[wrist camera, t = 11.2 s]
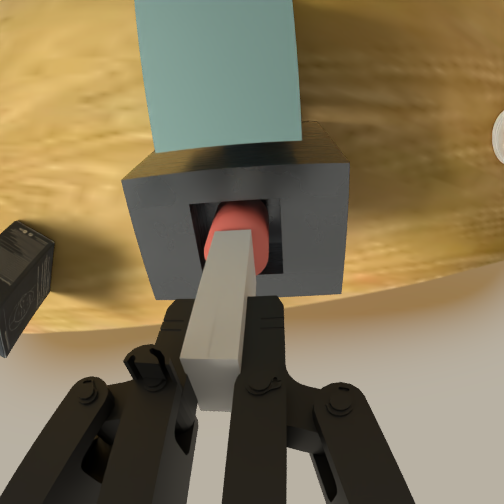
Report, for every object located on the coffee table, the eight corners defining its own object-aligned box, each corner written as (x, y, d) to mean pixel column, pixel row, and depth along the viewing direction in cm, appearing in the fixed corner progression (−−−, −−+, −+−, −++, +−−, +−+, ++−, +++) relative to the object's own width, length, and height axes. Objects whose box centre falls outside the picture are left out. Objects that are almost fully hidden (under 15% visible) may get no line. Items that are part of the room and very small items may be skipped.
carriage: (199, 116, 21) (155, 153, 13) (186, 8, 16) (132, -24, 8) (288, 109, 20) (302, 140, 12) (279, -3, 16) (286, -48, 8)
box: (15, 218, 27) (-48, 279, 18) (56, 241, 28) (-3, 312, 19) (14, 271, 30) (-35, 332, 22) (50, 292, 32) (6, 361, 23)
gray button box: (191, 217, 26) (155, 299, 17) (176, 132, 22) (121, 180, 14) (318, 210, 25) (341, 294, 17) (316, 121, 21) (349, 163, 13)
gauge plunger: (219, 242, 18) (209, 281, 15) (212, 195, 16) (198, 228, 13) (270, 239, 18) (270, 279, 15) (267, 191, 16) (266, 224, 13)
